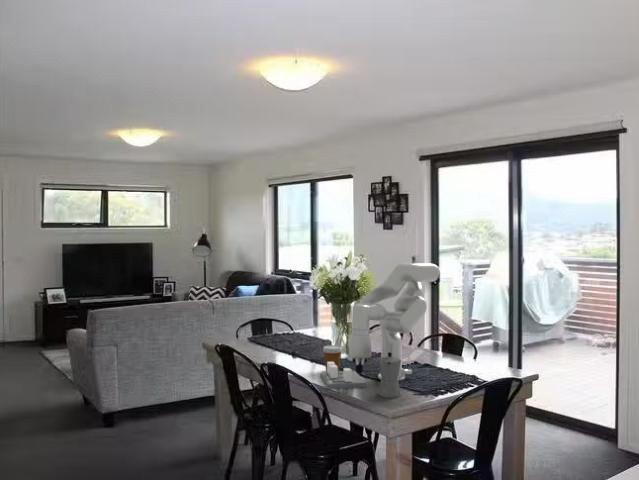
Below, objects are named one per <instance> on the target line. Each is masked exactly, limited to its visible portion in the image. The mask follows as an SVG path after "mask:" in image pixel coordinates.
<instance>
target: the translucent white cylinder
mask: <svg viewBox="0 0 639 480" xmlns="http://www.w3.org/2000/svg"><path fill="white" fill-rule="evenodd" d="M423 353H424V350H419V349H415V350H414V351H412V353H410V354H409V355H408V356H407V357H402V365H404V366H408V365H407V364H409V365H412V364H411V363H413V364H415V363H414V362H415V361H416V360H417V359H418V358H419V357H420V356H422V354H423Z"/></svg>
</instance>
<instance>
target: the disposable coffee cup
mask: <svg viewBox="0 0 639 480" xmlns="http://www.w3.org/2000/svg"><path fill="white" fill-rule="evenodd" d="M322 351H323V356H324V357H323V358H324V365H325V372H327V362H334V363H335V365H336V366H337V367H338V372H340V364H341V358H342V357H341V356H342V351H343V348H342V346H340V345H333V344H331V345H325V346H323V349H322Z"/></svg>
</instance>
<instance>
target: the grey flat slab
mask: <svg viewBox="0 0 639 480" xmlns="http://www.w3.org/2000/svg"><path fill="white" fill-rule="evenodd" d="M319 376H320V377H319V378H321V380H322V382H323V384H324V385H325V386H326V389H328V390H333V389H337V390H338V389H359V388H366V387H367V383H366V381H365V380H364V379H363V378H362V376H360V374H357V372H356V371H355V370H352V382H345V381H344V380H343V371H339V372H338V378H331V377H330V375H329V374H328V373H327V372H326V371H322V372H321V371H320V372H319Z"/></svg>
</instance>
